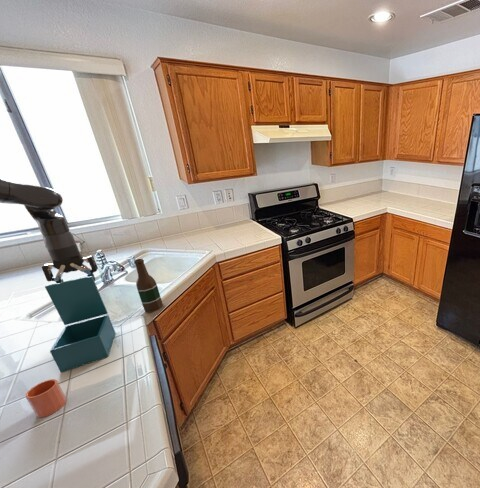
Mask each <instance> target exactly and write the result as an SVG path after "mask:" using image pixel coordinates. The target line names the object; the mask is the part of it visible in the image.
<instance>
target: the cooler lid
mask: <svg viewBox="0 0 480 488" xmlns="http://www.w3.org/2000/svg"><path fill="white" fill-rule="evenodd" d="M44 288H45V290H46V293H47V294H48V295H49V298H50V300H51V302H52V304H53V305H54V307H55V310H56V311H57V314H58V316H59V317H60V319H61V321H62V323H63V325H64V326H67V325H71V324H74V323H78V322H82V321H85V320H89V319H93V318H96V317H100V316H104V315H107V314H108V309H107V307H106V305H105V302H104V300H103V298H102V296H101V294H100V290H99V289H98V286H97V284H96V280H95V281H94V279H93V277H92V276H89V277H88V276H84V277H78V278H73V279H70V280H65V281H64V282H61V283H56V282H55V283H52V284H48V285H44ZM108 315H109V314H108Z"/></svg>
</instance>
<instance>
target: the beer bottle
mask: <svg viewBox="0 0 480 488" xmlns="http://www.w3.org/2000/svg"><path fill="white" fill-rule="evenodd" d="M133 264H134V265H135V268H136V272H137V273H136V274H137V279H136V283H135V286H136V290H137V293H138V296H139V299H140V302H141V305H142V308H143V310H144V312H146V313H150V312H152V313H153V312H154V311H158V310H159V309H161V308H162V307H163V301H162V297H161V294H160V291H159V287H158V284H157V281H156V280H155V278H154V277H153V276H152V275H151V274H149V272H148V270H147V267H146V265H145V260H144V259H143V258H137V259H135V260H134V261H133Z"/></svg>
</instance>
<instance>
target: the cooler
mask: <svg viewBox="0 0 480 488" xmlns="http://www.w3.org/2000/svg"><path fill="white" fill-rule="evenodd" d="M115 336H116V330H115V328H114V326H113V323H112V320H111V318H110V316H109V314H105V315H101V316H97V317H94V318H90V319H86V320H82V321H79V322H75V323H71V324H68V325H64V327H63V329H62V331H61V332H60V334H59V335H58V337H57V339H56V340H55V342H54V344H53V345H52V346H51V348H50V350H49V352H50V354H51V356H52V358H53V360H54V362H55V365H56V366H57V368H58V370H59V372H60V373H64V372H67V371H70V370H73V369H75V368H79V367H82V366H85V365H87V364H91V363H94V362H97V361H100V360H103V359H106V358H108V357H109V356H110V352H111V349H112V345H113V342H114V339H115ZM96 360H97V361H96ZM93 361H94V362H93Z"/></svg>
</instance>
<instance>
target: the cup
mask: <svg viewBox="0 0 480 488" xmlns="http://www.w3.org/2000/svg"><path fill="white" fill-rule="evenodd" d="M25 399H26V400H27V402H28V403H29V405H30V407H31V409H32V410H33V412H34V414H35V415H36V417H38V418H46V417H48V416H51V415H53V414H55V413H56V412H58V411H59V410H60V409H62V408H63V407H64V406H65V404H66V403H67V398H66V396H65V394H64V392H63V390H62V388H61V386H60V384H59V382H58V380H57V379H54V378H52V379H46V380H44V381H42V382H39V383H38V384H36V385H34V386H32V387H31V388H30V389H29V390H28V391H27V392H26V393H25Z"/></svg>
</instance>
